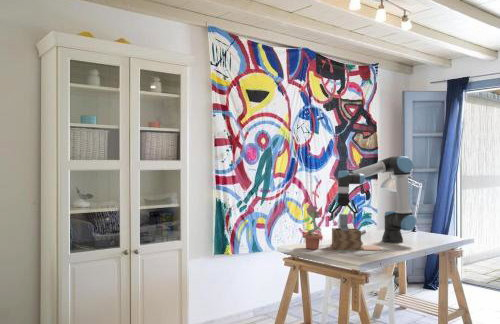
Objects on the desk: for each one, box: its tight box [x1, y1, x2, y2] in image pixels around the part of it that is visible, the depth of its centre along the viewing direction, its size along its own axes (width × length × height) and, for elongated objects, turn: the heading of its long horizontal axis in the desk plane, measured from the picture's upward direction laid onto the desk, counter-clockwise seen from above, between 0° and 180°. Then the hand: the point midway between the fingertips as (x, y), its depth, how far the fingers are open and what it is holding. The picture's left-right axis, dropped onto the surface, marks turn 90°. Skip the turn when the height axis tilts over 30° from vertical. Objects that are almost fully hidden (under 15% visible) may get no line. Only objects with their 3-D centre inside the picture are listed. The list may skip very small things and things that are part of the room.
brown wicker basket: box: [330, 227, 363, 251], centre depth 302 cm, size 20×13×13 cm, turn 86°
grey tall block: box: [337, 213, 349, 231], centre depth 303 cm, size 5×13×20 cm, turn 176°
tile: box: [361, 245, 383, 252], centre depth 301 cm, size 12×14×1 cm
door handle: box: [360, 229, 367, 246], centre depth 321 cm, size 18×8×20 cm
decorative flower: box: [302, 205, 324, 250], centre depth 301 cm, size 15×14×30 cm
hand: (343, 223), depth 303 cm, fingers open, 13 cm apart
